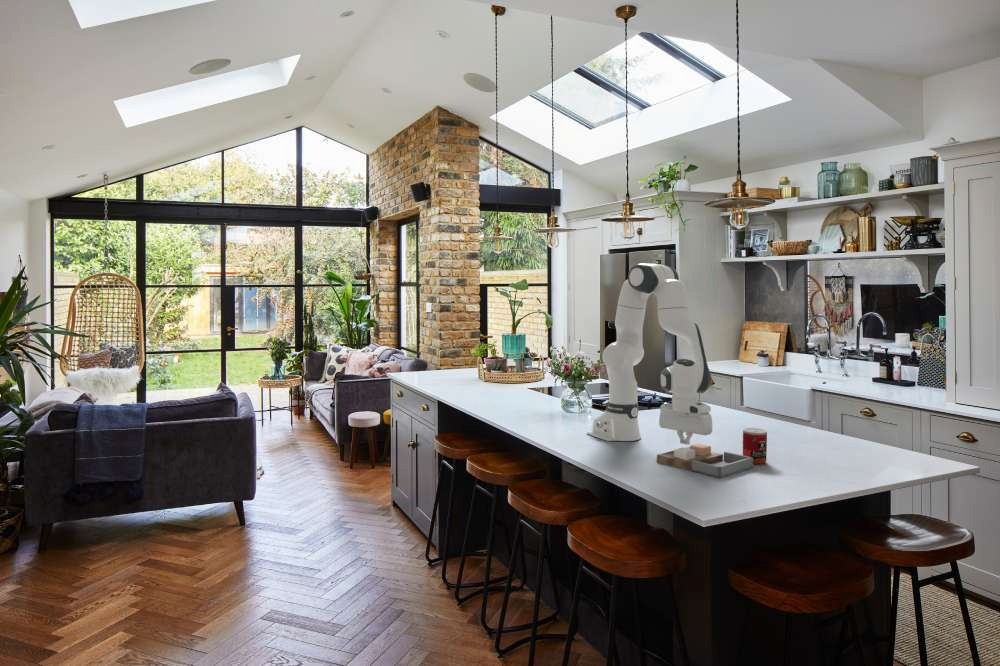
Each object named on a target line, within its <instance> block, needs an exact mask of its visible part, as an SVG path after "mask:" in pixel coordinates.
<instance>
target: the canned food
mask: <svg viewBox="0 0 1000 666" xmlns="http://www.w3.org/2000/svg"><path fill="white" fill-rule="evenodd" d="M767 443H768V431H767V430H765V429H762V428H757V427H756V428H755V427H747V428H743V430H742V455H743V456H748V457H753V466H754V465H755V466H760V465H765V464H766V463H767V449H768V447H767V446H768V445H767Z"/></svg>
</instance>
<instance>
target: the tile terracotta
mask: <svg viewBox="0 0 1000 666" xmlns="http://www.w3.org/2000/svg"><path fill="white" fill-rule="evenodd" d="M689 447H690V449H692V450H695V454H697V455H702V456H703V455H706V454H710V453H711V452H712V446H711V445H708V444H707V445H706V444H703V443H702V444H701V443H696V444H693V445H692V444H691V445H689Z"/></svg>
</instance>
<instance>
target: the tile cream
mask: <svg viewBox="0 0 1000 666" xmlns="http://www.w3.org/2000/svg"><path fill="white" fill-rule="evenodd" d="M673 451H674V457H676V458H680V459H685V460H688V459H692V458H695V450H692V449H688V448H686V447H679V448H676V449H673Z"/></svg>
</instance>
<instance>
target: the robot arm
mask: <svg viewBox="0 0 1000 666" xmlns="http://www.w3.org/2000/svg"><path fill="white" fill-rule="evenodd" d="M679 278H680V277H679V273H678V271H677V270H676V269H675V268H673V267H672V266H669V265H667V264H666V265H664V264H660V263H645V262H644V263H643V262H642V263H638V264H635V265H633V266H631V268H630V269H629V270H628V275H627V279H626V280H625V281H624V282H623V284H622V286H621V290H620V293H619V297H618V300H617V306H616V314H615V318H614V327H615V330H616V332H615V333H616V341H614V342H611V343H610V344H608V345H607V346H606V347H605V348H604V350H603V351H602V354H601V356H602V362H603V365H605V368H606V372H607V377H608V385H609V386H608V391H609V392H608V393H609V394H608V395H609V396H608V398H609V400H608V401H609V402H605V403H604V404H603V406H604V407H606V408H605V411H603V412H602V413H601V414H600V415H599V416H597V417H595V418H594V419H593V423H592V429H589V430H587V431H586V435H589V436H592V437H596V438H598V439H601V440H604V441H608V442H612V441H613V442H614V441H615V442H616V441H617V442H632V441H638V440H640V439H641V438H642V436H641V432H640V427H639V426H640V425H639V418H638V415H639V402H638V382H637V380H636V377H635V372H634V366H637V365H638V364H639V363H641V361H642V360H643V358H644V355H645V350H644V347H643V346H644V344H643V342H644V341H643V333H644V332H643V329H644V321H645V315H646V310H647V303H648V298H649V297H650V295H652V294H653V295H654V296H655V297H656V303H657V304H656V305H657V321H658V323H659V325H660V327H661V328H662V329H663V330H664V331H666V332H667V333H669V334H672V335H674V336H677V337H679V338H682V339H683V340H685V341H686V342H687V344H688V346H689V350H690V355H691V358H692V359H687V358H679V359H676V360H674V361H673V363H672V365H670V366H667V367H665V368H663V369H662V370H661V372H660V373H659V374H660V375H659V384H660V387H661V389H662V390H664V391H665V393H670V394H671V393H672V395H671V403H670V402H663V403H662V404H661V405H660V413H659V421H658V425H659V426H660V428H661V429H666V430H671V431H676V432H677V433H676V435H677V436H678V439H679V443H680V444H682V445H687V446H688V445H690V444H691V442H690V441H691V438H692V437H693V436H694V435H693V434H696V435H700V436H701V435H702V436H708V435H711V434H712V432H713V417H712V415H711V414H710V412H711V411H712V408H711V406H710V405H708V404H706V403H704V402H702V401H701V400H699V399H698V398H699V397H698V394H704V393H706V391H708V390H709V389H710V388H711V386H712V382H713V381H712V380H713V379H712V375H711V371H710V368H709V366H708V361H707V357H706V352H705V348H704V343H703V339H702V335H701V331H700V328H699V325H698V324H697V323H696V322H694V321H693V320H692V317H691V316H690V312H689V303H688V302H689V301H688V300H689V299H688V295H687V289H686V286H685V284H684V282H683V281H681V280H679ZM684 433H685V435H686V437H685V436H684Z"/></svg>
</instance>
